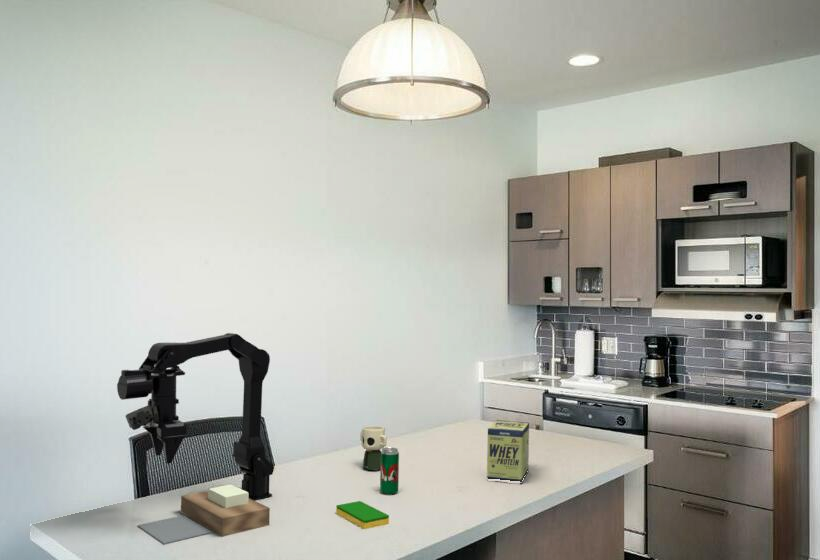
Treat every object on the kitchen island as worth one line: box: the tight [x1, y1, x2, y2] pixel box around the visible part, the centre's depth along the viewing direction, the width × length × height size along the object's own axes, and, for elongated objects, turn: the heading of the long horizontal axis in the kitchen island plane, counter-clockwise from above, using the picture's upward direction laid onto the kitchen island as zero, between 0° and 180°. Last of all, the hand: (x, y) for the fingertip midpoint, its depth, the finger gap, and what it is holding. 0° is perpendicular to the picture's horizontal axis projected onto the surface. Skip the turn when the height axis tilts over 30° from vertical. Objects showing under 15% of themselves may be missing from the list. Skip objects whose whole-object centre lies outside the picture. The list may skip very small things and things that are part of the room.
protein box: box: [486, 419, 530, 483], centre depth 211 cm, size 10×16×16 cm
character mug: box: [359, 425, 388, 471], centre depth 216 cm, size 11×7×13 cm, turn 49°
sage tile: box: [207, 484, 249, 508], centre depth 169 cm, size 6×9×2 cm, turn 42°
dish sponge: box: [335, 500, 390, 530], centre depth 170 cm, size 7×14×2 cm, turn 35°
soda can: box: [379, 446, 400, 495], centre depth 192 cm, size 5×5×12 cm
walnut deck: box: [180, 490, 271, 537], centre depth 168 cm, size 12×22×4 cm, turn 42°
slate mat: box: [137, 514, 212, 545], centre depth 160 cm, size 11×15×1 cm
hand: (163, 459), depth 168 cm, fingers open, 9 cm apart
